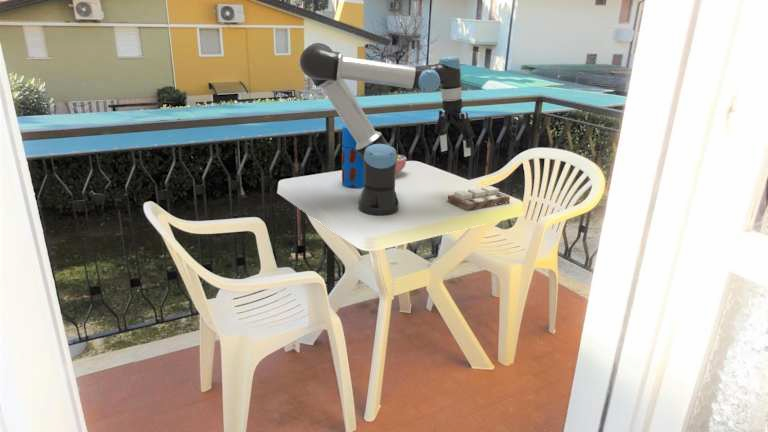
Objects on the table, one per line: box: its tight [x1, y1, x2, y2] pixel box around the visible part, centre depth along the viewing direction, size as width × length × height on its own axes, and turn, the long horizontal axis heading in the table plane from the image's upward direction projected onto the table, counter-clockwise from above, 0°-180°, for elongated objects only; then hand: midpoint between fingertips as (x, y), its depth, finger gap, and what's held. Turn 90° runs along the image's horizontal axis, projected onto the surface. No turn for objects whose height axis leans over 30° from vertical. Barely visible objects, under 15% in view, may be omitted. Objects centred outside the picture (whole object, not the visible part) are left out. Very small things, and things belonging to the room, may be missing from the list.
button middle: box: [467, 187, 486, 198], centre depth 211 cm, size 5×5×2 cm
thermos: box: [341, 124, 364, 189], centre depth 222 cm, size 11×11×25 cm
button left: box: [453, 189, 472, 201], centre depth 208 cm, size 5×5×2 cm
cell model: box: [396, 153, 407, 174], centre depth 241 cm, size 17×20×11 cm
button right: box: [480, 185, 500, 196], centre depth 215 cm, size 5×5×2 cm
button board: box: [446, 192, 511, 212], centre depth 211 cm, size 22×12×3 cm, turn 122°
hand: (455, 153), depth 208 cm, fingers open, 13 cm apart
